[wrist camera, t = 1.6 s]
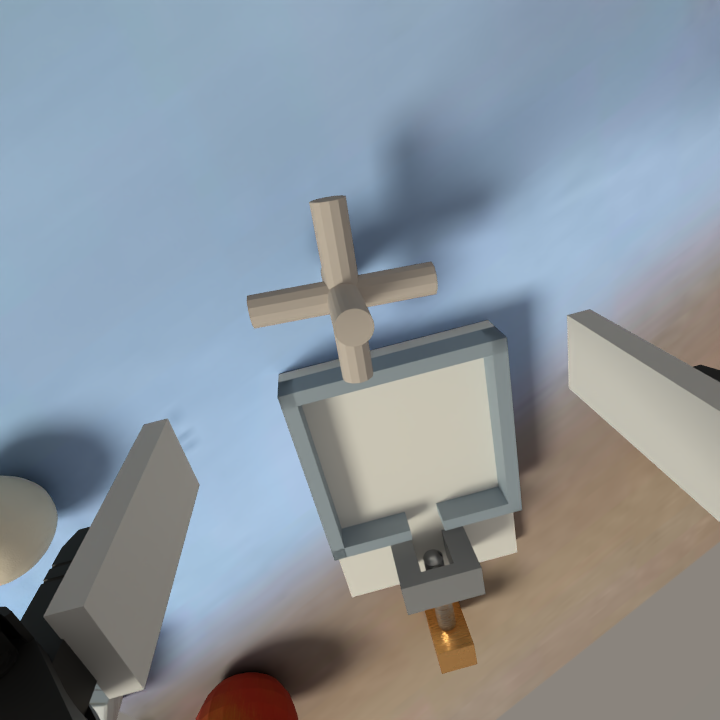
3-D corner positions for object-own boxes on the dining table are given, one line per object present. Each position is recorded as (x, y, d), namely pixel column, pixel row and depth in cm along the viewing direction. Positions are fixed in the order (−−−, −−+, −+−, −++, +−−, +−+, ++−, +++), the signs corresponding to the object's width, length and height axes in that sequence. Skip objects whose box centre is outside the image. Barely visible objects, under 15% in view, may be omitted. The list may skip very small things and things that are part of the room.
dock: (278, 374, 32) (276, 417, 27) (487, 320, 33) (523, 352, 28) (350, 585, 42) (358, 645, 37) (511, 541, 42) (540, 595, 37)
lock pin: (408, 544, 40) (421, 589, 36) (444, 534, 40) (461, 577, 36) (428, 626, 45) (441, 673, 41) (461, 617, 45) (477, 663, 41)
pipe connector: (403, 175, 28) (456, 191, 19) (419, 328, 32) (468, 401, 23) (236, 204, 27) (209, 235, 18) (275, 356, 32) (269, 441, 23)
